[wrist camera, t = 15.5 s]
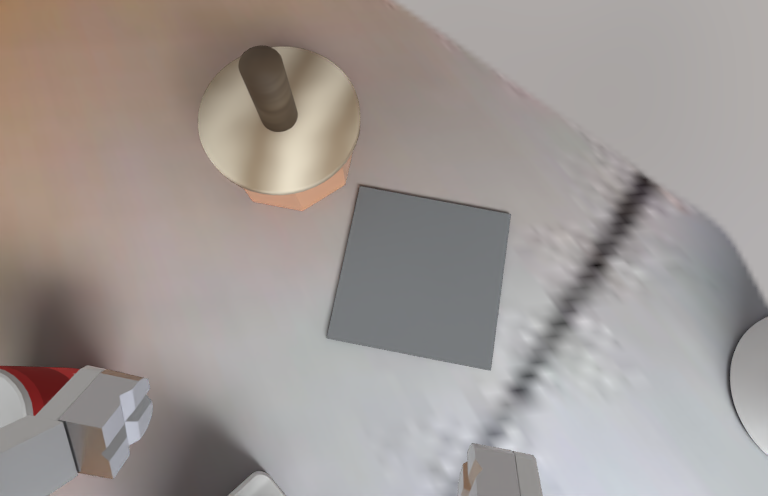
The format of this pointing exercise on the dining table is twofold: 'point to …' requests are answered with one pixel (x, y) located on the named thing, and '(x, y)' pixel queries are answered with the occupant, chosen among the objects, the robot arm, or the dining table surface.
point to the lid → (279, 120)
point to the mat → (421, 278)
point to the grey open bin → (258, 486)
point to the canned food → (29, 389)
